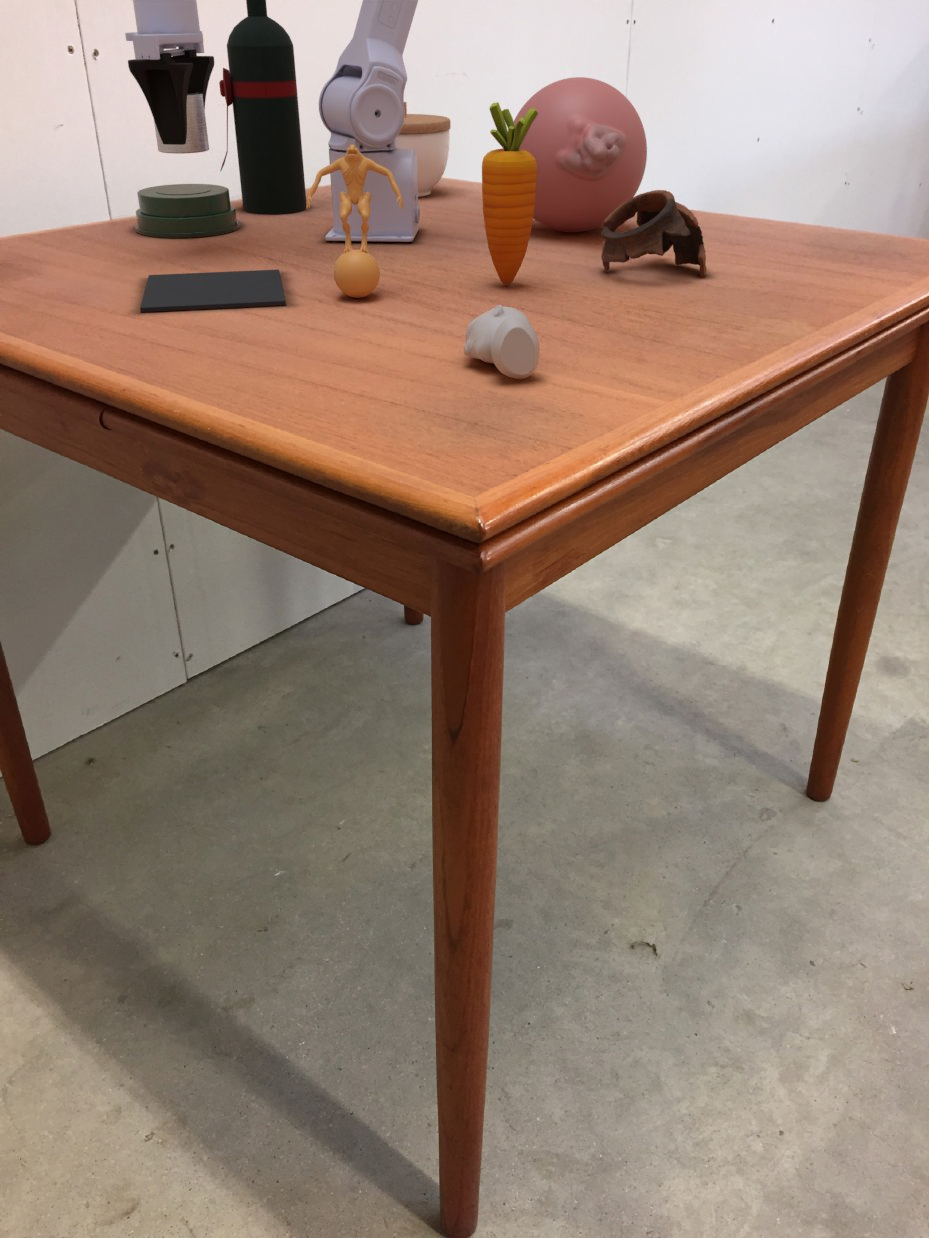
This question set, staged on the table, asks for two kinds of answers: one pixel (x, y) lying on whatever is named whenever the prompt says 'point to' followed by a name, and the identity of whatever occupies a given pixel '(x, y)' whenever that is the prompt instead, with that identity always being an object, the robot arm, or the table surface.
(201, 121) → the silver cup
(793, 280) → the table surface
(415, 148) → the lidded bowl
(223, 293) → the mat
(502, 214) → the carrot
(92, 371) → the table surface
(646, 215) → the broken pot rim
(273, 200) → the wine bottle
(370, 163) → the figurine
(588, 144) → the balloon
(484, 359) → the pale two-lobed sculpture
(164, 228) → the green stepped puck
